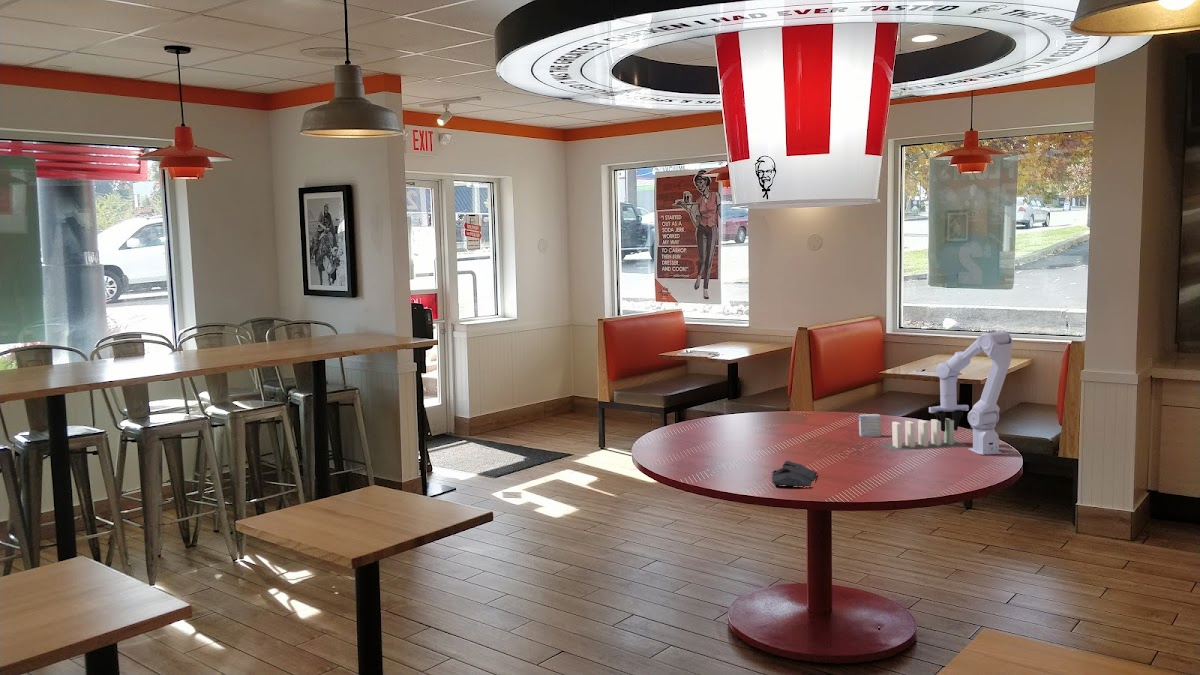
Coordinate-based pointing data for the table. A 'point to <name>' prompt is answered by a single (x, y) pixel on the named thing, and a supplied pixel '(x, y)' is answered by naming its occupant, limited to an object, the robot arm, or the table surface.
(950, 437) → the domino
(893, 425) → the domino
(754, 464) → the table surface
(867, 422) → the medicine box
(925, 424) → the domino
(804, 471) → the dark slate chunk
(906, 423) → the domino
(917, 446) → the charcoal mat
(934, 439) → the domino
